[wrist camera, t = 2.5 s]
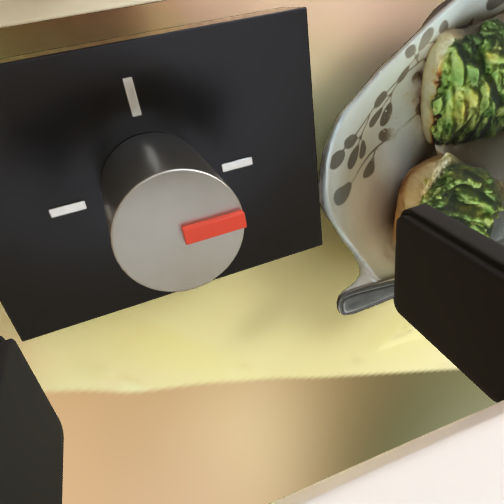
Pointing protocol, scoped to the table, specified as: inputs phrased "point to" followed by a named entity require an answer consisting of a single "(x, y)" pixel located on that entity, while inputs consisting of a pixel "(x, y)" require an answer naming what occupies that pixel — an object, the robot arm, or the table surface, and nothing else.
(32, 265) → the hob panel
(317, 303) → the table surface
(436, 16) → the salad plate
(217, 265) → the stove knob
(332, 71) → the table surface
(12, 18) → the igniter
